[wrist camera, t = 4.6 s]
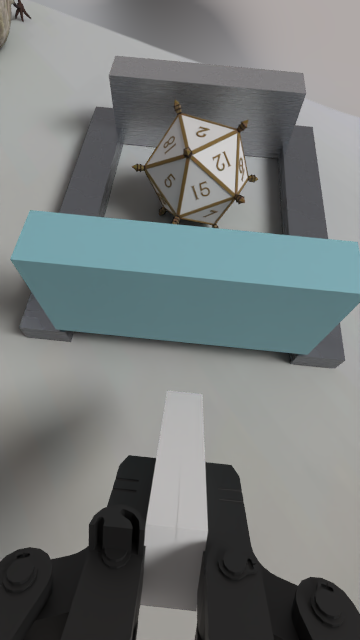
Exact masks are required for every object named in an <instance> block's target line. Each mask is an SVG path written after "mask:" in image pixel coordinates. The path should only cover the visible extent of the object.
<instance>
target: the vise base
mask: <svg viewBox="0 0 360 640" xmlns="http://www.w3.org/2000/svg"><path fill="white" fill-rule="evenodd" d="M109 79H110V87H111V94H112V102H113V108H104V107H96V108H95V111H94V114H93V117H92V120H91V123H90V126H89V128H88V131H87V134H86V137H85V140H84V143H83V146H82V148H81V151H80V154H79V157H78V160H77V163H76V166H75V168H74V171H73V174H72V177H71V180H70V183H69V186H68V189H67V191H66V194H65V197H64V200H63V203H62V206H61V209H60V211H59V213H64V214H74V215H85V216H95V217H104V215H105V211H106V207H107V203H108V200H109V196H110V192H111V188H112V184H113V181H114V177H115V173H116V169H117V165H118V162H119V158H120V154H121V150H122V147H123V144H131V145H141V146H152V147H157V146H158V144H159V142H160V141H161V139H162V138H163V136H164V135H165V133H166V132H167V130H168V129H169V127H170V125H171V124H172V122H173V121H174V119H175V118H176V116H177V113H176V111H174V110H175V109H174V108H173V107H174V101H175V100H176V101H178V102H179V103H180V104H181V107H182V108H181V112H182V113H184V114H187V115H191V116H194V117H198V118H201V119H205V120H209V121H212V122H216V123H219V124H223V125H226V126H230V127H233V128H238V125H239V124H241V122H242V121H246V120H248V124H247V128H245V129H244V131H241V132H240V135H241V140H242V146H243V151H244V155H247V156H257V157H268V158H278V166H279V182H280V199H281V215H282V232H283V235H290V236H301V237H311V238H321V239H328V235H327V228H326V220H325V213H324V206H323V199H322V192H321V185H320V178H319V170H318V163H317V156H316V149H315V142H314V135H313V127H306V126H296V125H295V124H296V121H297V118H298V115H299V112H300V109H301V106H302V104H303V101H304V98H305V95H306V90H305V83H304V75H303V73H296V72H285V71H275V70H264V69H253V68H242V67H230V66H220V65H210V64H199V63H188V62H177V61H166V60H155V59H145V58H134V57H123V56H115V59H114V62H113V65H112V68H111V71H110V74H109ZM19 328H20V329H21V331H22V332H23V333H24V334H25V335H26V336H27V337H30V338H39V339H49V340H59V341H69V342H71V339H72V336H73V332H74V331H67V330H57V329H55V327H54V325H53V324H52V322H51V321H50V319H49V318H48V316H47V315H46V313H45V312H44V310H43V309H42V307H41V306H40V304H39V302H38V301H37V299H36V298H35V296H34V295H33V293H32V292H31V294H30V297H29V300H28V303H27V306H26V309H25V312H24V315H23V317H22V320H21V323H20V326H19ZM344 361H345V356H344V349H343V342H342V335H341V328H340V323H339V324H338V325H337V326H336V327H335V328H334V329H333V330H332V331H331V332H330V333H329V334H328V335H327V336H326V337H325V338H324V339H323V340H322V341H321V342H320V343H319V344H318V345H317V346H316V347H315V348H314V349H313V350H312V351H311V352H310V353H309V354H308V355H305V354H295V353H290V364H297V365H307V366H316V367H326V368H336V367H337V366H338V365H340V364H341V363H342V362H344Z"/></svg>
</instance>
